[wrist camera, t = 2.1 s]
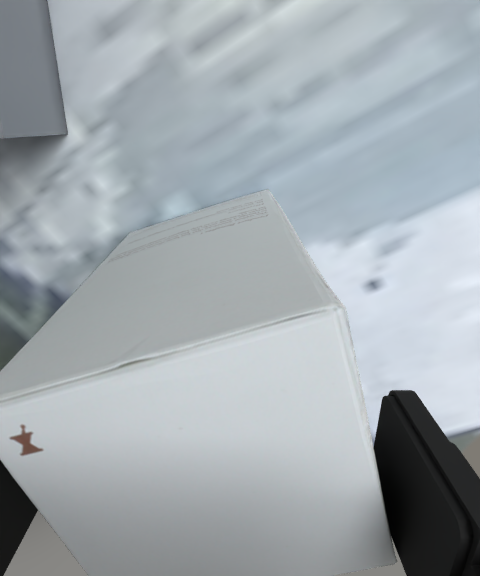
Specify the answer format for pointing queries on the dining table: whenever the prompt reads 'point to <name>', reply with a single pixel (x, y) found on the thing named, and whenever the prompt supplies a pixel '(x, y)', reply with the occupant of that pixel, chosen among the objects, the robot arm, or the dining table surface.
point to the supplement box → (200, 409)
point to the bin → (28, 72)
